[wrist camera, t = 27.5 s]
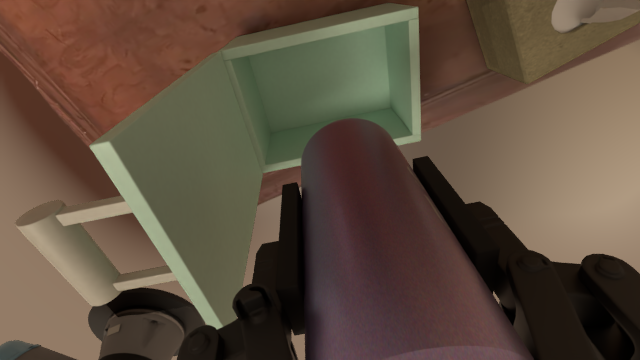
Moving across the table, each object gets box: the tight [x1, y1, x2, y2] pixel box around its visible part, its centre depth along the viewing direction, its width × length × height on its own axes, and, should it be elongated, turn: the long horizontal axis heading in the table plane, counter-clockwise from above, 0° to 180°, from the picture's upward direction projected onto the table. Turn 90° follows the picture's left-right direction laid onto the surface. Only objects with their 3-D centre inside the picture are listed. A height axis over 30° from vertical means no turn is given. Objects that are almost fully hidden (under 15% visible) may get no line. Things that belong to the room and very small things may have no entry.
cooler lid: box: [15, 52, 263, 330], centre depth 22 cm, size 19×13×8 cm
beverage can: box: [301, 118, 534, 360], centre depth 13 cm, size 6×6×15 cm
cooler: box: [218, 3, 421, 173], centre depth 34 cm, size 18×13×10 cm
